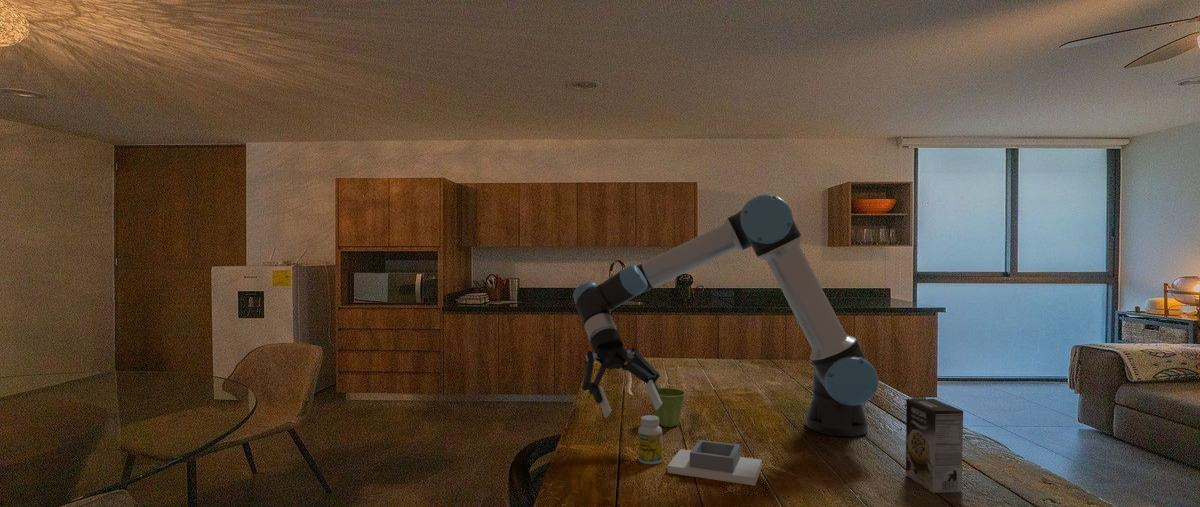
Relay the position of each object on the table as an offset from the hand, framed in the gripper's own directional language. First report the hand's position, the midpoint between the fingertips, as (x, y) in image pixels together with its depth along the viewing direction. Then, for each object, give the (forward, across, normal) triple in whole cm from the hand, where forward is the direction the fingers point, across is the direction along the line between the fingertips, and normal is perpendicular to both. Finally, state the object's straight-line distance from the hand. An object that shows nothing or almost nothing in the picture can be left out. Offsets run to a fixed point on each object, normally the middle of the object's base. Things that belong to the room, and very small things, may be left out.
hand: (634, 410), depth 136 cm
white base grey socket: (+19, -10, +5) cm, 22 cm away
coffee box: (+37, -44, +23) cm, 62 cm away
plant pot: (-4, -20, -18) cm, 27 cm away
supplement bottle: (+11, -1, -3) cm, 12 cm away
